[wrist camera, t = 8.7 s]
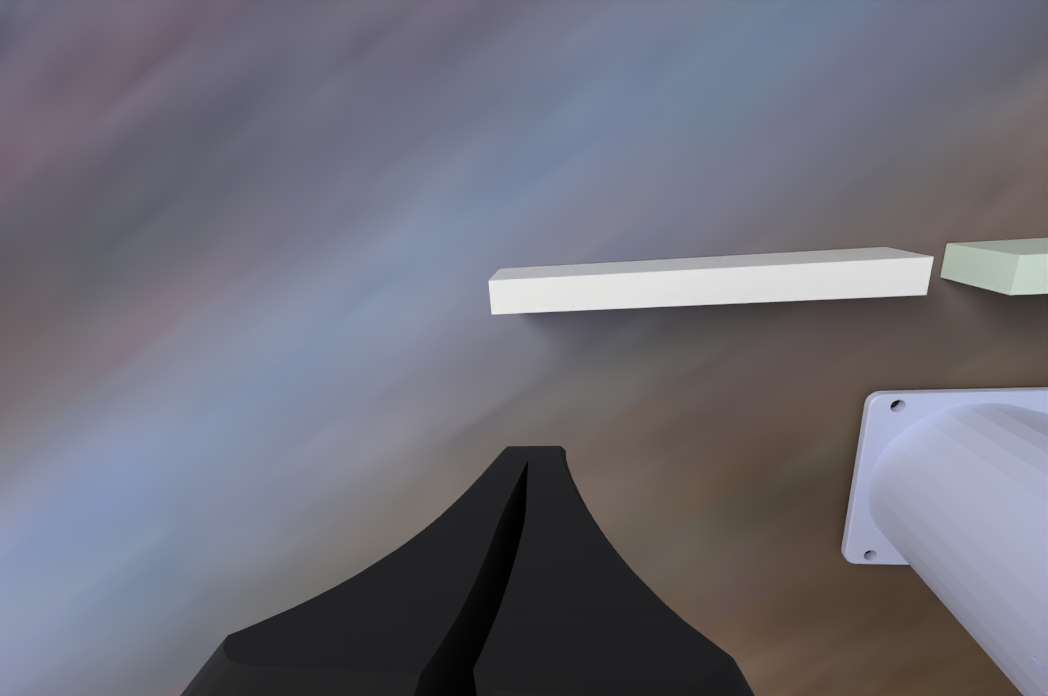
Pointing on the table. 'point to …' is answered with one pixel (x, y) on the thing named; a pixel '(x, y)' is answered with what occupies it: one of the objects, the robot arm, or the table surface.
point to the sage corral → (999, 265)
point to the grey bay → (712, 280)
